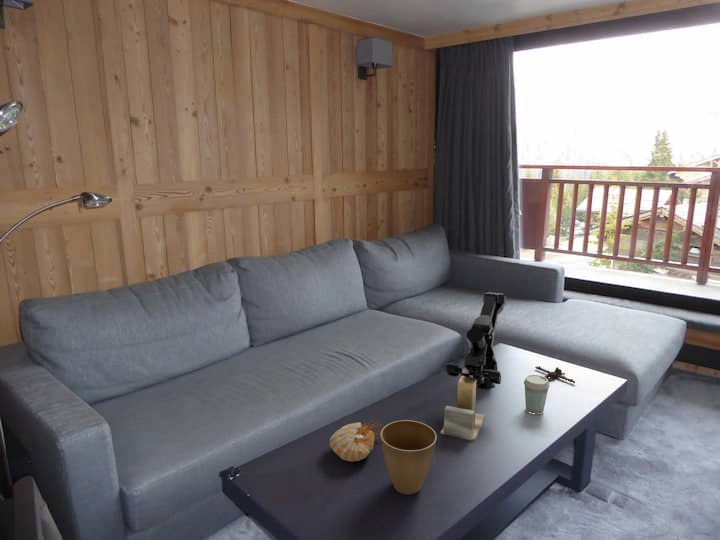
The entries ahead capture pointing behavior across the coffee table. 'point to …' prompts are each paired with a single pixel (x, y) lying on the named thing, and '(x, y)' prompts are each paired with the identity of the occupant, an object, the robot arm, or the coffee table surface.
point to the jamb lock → (462, 423)
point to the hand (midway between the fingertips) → (468, 396)
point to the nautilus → (353, 441)
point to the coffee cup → (535, 393)
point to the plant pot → (408, 453)
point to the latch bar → (466, 393)
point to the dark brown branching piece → (554, 374)
